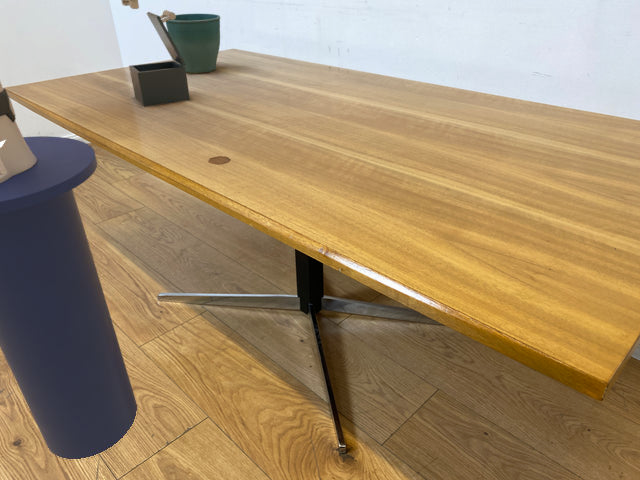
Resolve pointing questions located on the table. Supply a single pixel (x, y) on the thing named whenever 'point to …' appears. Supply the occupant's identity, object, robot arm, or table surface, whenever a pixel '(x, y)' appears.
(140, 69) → the dark grey open box
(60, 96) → the table surface
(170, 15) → the lid
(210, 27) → the flower pot
